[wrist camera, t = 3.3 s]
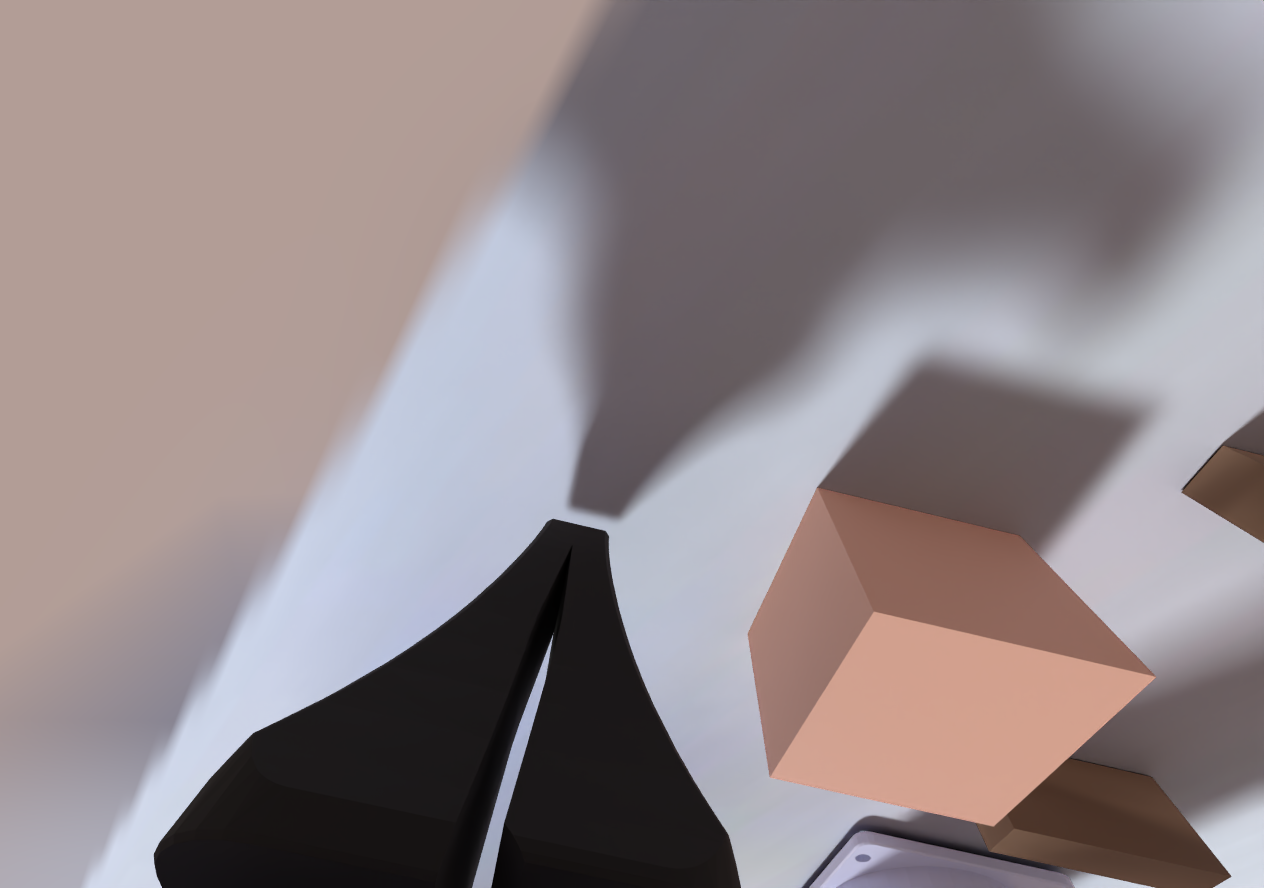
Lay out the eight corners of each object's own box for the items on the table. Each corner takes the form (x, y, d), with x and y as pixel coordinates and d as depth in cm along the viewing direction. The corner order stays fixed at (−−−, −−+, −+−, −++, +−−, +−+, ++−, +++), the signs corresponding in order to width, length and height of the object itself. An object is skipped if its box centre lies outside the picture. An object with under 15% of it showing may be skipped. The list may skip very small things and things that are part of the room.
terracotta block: (916, 668, 14) (993, 826, 11) (747, 629, 14) (769, 777, 11) (1016, 532, 12) (1156, 677, 9) (815, 484, 12) (873, 611, 8)
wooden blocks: (1125, 797, 16) (1197, 896, 14) (945, 757, 16) (988, 851, 14) (1486, 511, 11) (1697, 595, 9) (1222, 445, 11) (1368, 514, 8)
